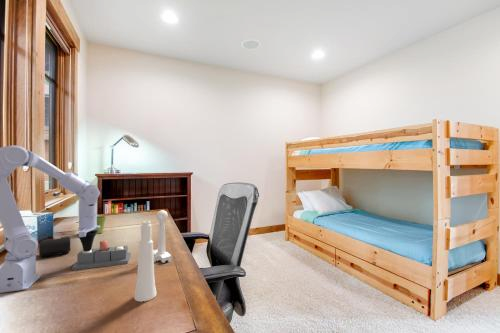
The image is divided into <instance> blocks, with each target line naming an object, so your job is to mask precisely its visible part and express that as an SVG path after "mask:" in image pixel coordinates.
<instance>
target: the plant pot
mask: <svg viewBox="0 0 500 333" xmlns="http://www.w3.org/2000/svg"><path fill="white" fill-rule="evenodd" d="M106 219H107V216H106V215H97V226H100V228H97V229H94V230H97V233H96V235H98V234H103V233H104V229H105V228H104V227H105V223H106Z"/></svg>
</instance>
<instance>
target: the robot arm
mask: <svg viewBox="0 0 500 333" xmlns="http://www.w3.org/2000/svg"><path fill="white" fill-rule="evenodd" d="M20 167H30V168H34V169H36V170H38V171H40V172H42V173H44V174H46V175H48V176H50V177H51V178H54V179H56V180H57V183H58V185H59V186H60V187H62V188H64V189H65V190H68V191H69V192H71V193H73V194H75V195H76V197H77V198H79V202H78V203H79V204H78V228H77V230H78V233H77V238H78V239H79V240H80V243H81V246H82V250H84V251H90V250H91V249H93V244H94V240H95V237H96V235H97V234H96V233H97V230H94V229H97V228H100V226H97V216H98V198H99V197H100V196H101V191H100V190H99V187H98V186H96V185H94V184H90V181H89V180H85V179H83V178H82V177H80V176H79V174H78V173H77V172H69V171H67V172H64V171H63V170H61V168H59V167H57V166H55V165H54V164H52V163H51V162H49V161H48V160H46V159H45V158H43V157H41V156H40V155H38V154H36V153H35V152H33V151H31V150H27V149H26V148H25V147H23V146H21V145H13V144H12V145H7V146H1V147H0V224H1V227H2V229H3V236H4V243H3V246H4V249H5V250H6V251H7V253H6V254H5V256H4V263H3V264H2V266H1V267H0V294H2V293H8V292H17V291H24V290H28V289H30V287H31V286H33V284H35V283H36V282H37V281H38V280H39V279H40V278H41V277H42V274H38V275H37V273H36V272H37V250H38V249H39V248H38V247H39V242H38V240H37V239H36V238H34V237H33V236H32V234H31V233H30V231H29V229H28V228H27V226H26V225H25V222H24V219H23V217H22V214H21V212H20V209H19V206H18V204H17V201H16V199H15V197H14V194H13V191H12V189H11V186H10V184H9V181H8V177H9V176H11V174H12V173H13V172H14V171H15V170H16V169H17V168H20Z"/></svg>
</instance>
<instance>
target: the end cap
mask: <svg viewBox="0 0 500 333" xmlns="http://www.w3.org/2000/svg"><path fill="white" fill-rule="evenodd" d="M38 247H39V248H38V250H39V251H38V252H39V253H38V254H39V256H40V257H41V258H45V257H51V256H57V255H62V254H68V253H70V252H71V237H70V236H64V237H63V236H62V237H60V238H54V239H53V238H48V239H47V238H46V239H43V240H41V241H40V242H39V245H38Z"/></svg>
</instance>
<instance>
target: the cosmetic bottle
mask: <svg viewBox="0 0 500 333" xmlns="http://www.w3.org/2000/svg"><path fill="white" fill-rule="evenodd" d="M140 226H141V227H140V241H139V243H138V244H139V245H138V255H137V256H138V257H137V258H138V260H137V275H136V283H135V284H136V285H135V291H134V296H133V298H134V301H136V302H143V301H144V302H147V301H148V302H149V301H151V300H153V299H154V298H155V297H156V296H157V289H156V282H155V262H154V256H153V250H154V241H153V240H152V223H151V220H144V221H142V224H141V225H140Z"/></svg>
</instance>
